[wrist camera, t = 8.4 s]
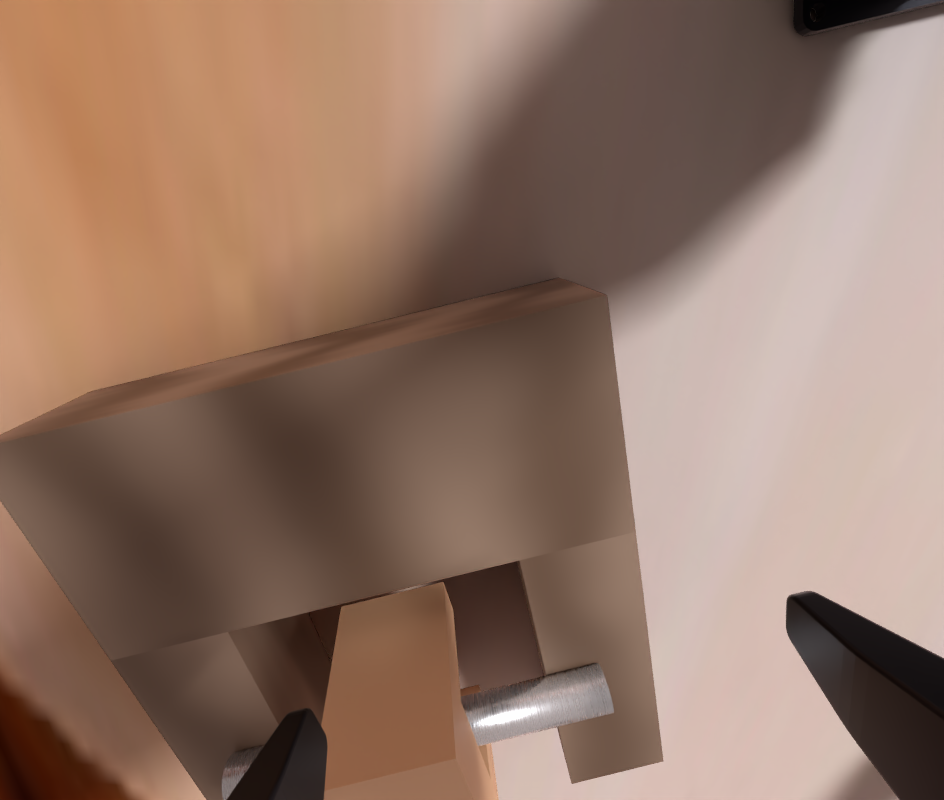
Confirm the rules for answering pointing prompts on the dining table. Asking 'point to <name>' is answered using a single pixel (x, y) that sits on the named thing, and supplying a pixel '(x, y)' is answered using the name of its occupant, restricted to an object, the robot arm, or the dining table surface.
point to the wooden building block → (401, 705)
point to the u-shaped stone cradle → (346, 511)
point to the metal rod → (503, 711)
